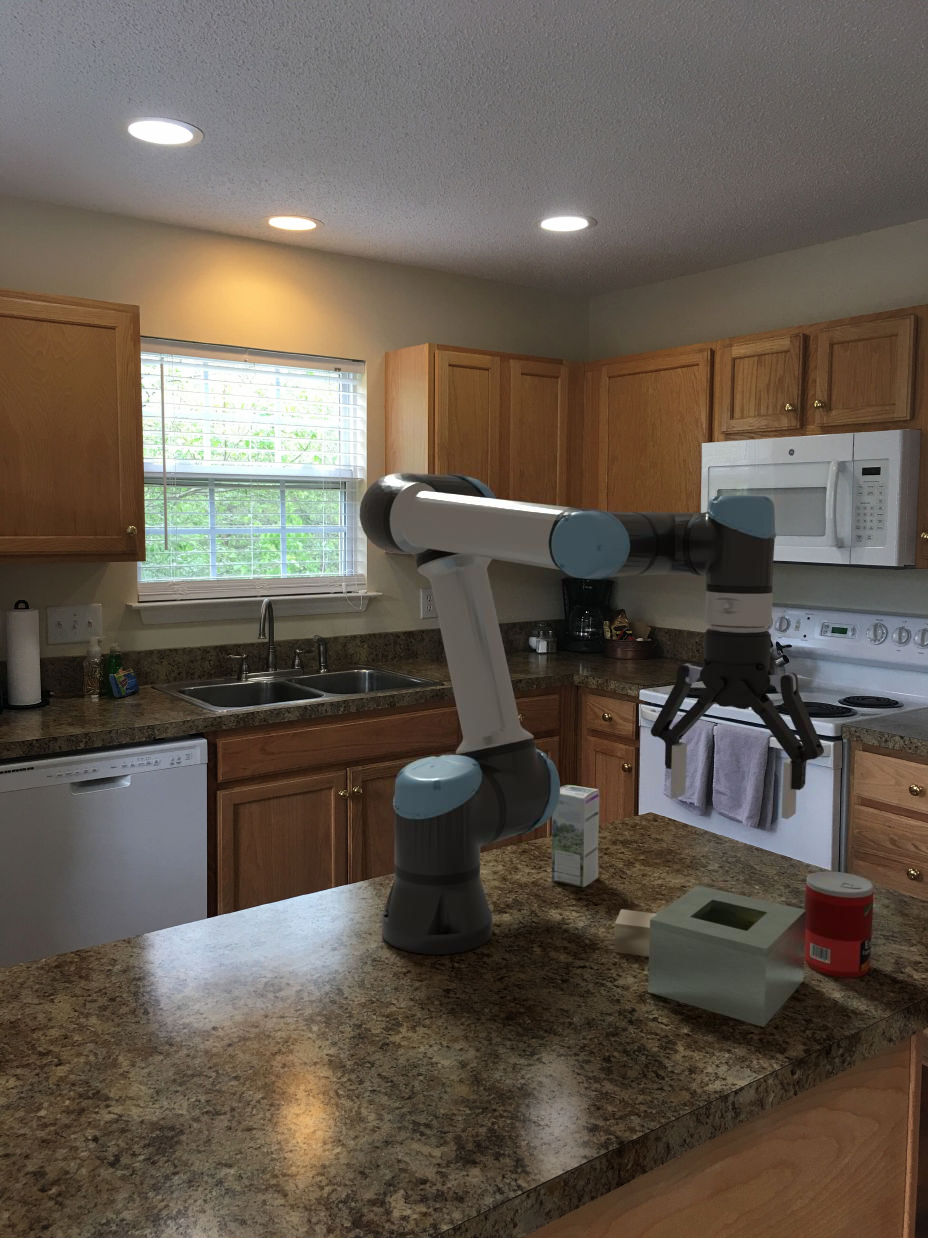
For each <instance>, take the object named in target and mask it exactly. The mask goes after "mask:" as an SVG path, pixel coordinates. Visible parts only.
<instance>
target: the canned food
mask: <svg viewBox="0 0 928 1238" xmlns="http://www.w3.org/2000/svg"><path fill="white" fill-rule="evenodd" d="M874 890H875V889H874V884H873V883H872V882H871V881H870V880H868V879H866V878H864V877H861V876H859V875H855V874H851V873H847V872H841V871H818V872H813V873H811V874H808V875H807V876H806V882H805V897H804V898H805V899H804V900H805V902H804V904H805V905H804V910H806V919H805V945H804V962H805V964H806V965H807V966H808V967H809V968H811V969H812V970H814V971H816V972H818V973H821V974H822V975H823V974H824V975H825V976H831V977H835V978H845V979H847V978H848V979H849V978H850V979H851V978H859V977H863V976H864V975H866V974H867V973H868V972H869V969H870V966H871V955H872V936H873V935H872V934H873V916H874V914H873V913H874V893H875V892H874Z"/></svg>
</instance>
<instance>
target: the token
mask: <svg viewBox="0 0 928 1238" xmlns="http://www.w3.org/2000/svg"><path fill="white" fill-rule="evenodd" d="M657 914H658V913H655V912H654V913H653V912H647V911H637V910H630V909H623V908H622V909H620V911H619V913H618V916H617V917H616V920H615V922H614V938H613V939H614V941H613V942H614V943H613V944H614V946H613V951H614V953H620V954H627V955H635V956H640V957H642V956H643V957H648V958H649V942H650V919H651V918H653V917H654V916H655V915H657Z"/></svg>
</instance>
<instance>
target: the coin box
mask: <svg viewBox="0 0 928 1238" xmlns="http://www.w3.org/2000/svg"><path fill="white" fill-rule="evenodd" d="M656 914H657V915H655V916H654V917H653V918H651V919H650V942H649V957H648V987H647V988H648V989H647V990H648V991H647V993H649V994H653V995H656V996H660V997H662V998H666V999H670V1000H674V1001H676V1002H680V1003H683V1004H686V1005H690V1006H693V1007H696V1008H700V1009H703V1010H706V1011H708V1012H711V1013H716V1014H719V1015H723V1016H727V1017H730V1018H732V1019H736V1020H739V1021H743V1022H746V1023H749V1024H753V1025H756V1026H759V1027H763V1028H764V1027H766V1025H767V1024H768V1023H769V1022H770V1020H771V1019H772V1018H773V1017H774V1016H775V1015H776V1013H777V1012H778V1011H779V1010H780V1009H781V1007H783V1005H784V1004H785V1003H786V1002H787V1001H788V999H790V997H791V996H792V995H793V993H794V992H796V990H797V988H799V987H800V986H801V984H802V983H803V982H804V967H805V966H804V965H805V958H804V945H805V919H806V910H805V908H804V909H802V908H799V907H794V906H790V905H785V904H781V903H776V902H773V901H769V900H764V899H759V898H754V897H752V896H751V897H750V896H747V895H741V894H736V893H733V892H728V891H725V890H720V889H715V888H710V887H707V886H702V885H695V886H694V887H693V888H691V889H689V890H688V891H687V892H686V893H685V894H683V895H681V896H680V897H679V898H678V899H676V900H674V901H673V902H672V903H671V904H669V905H668V906H666V907H665V908H664V909H663V910H661V911H659V912H658V913H656Z"/></svg>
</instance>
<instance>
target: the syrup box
mask: <svg viewBox="0 0 928 1238" xmlns="http://www.w3.org/2000/svg"><path fill="white" fill-rule="evenodd" d="M599 819H600V790H599V789H598V788H591V787H584V786H578V785H572V784H571V785H570V784H566V785H562V786H560V796H559V801H558V805H557V807H556V809H555V811H554V812H553V814H552V816H551V881H552V882H556V883H561V884H565V885H571V886H575V887H580V888H585V887H586V886H588V885H590V884H591V883H593V882H594V881H596V880H597V879H598V878H599V826H600V825H599V823H600V820H599Z"/></svg>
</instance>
